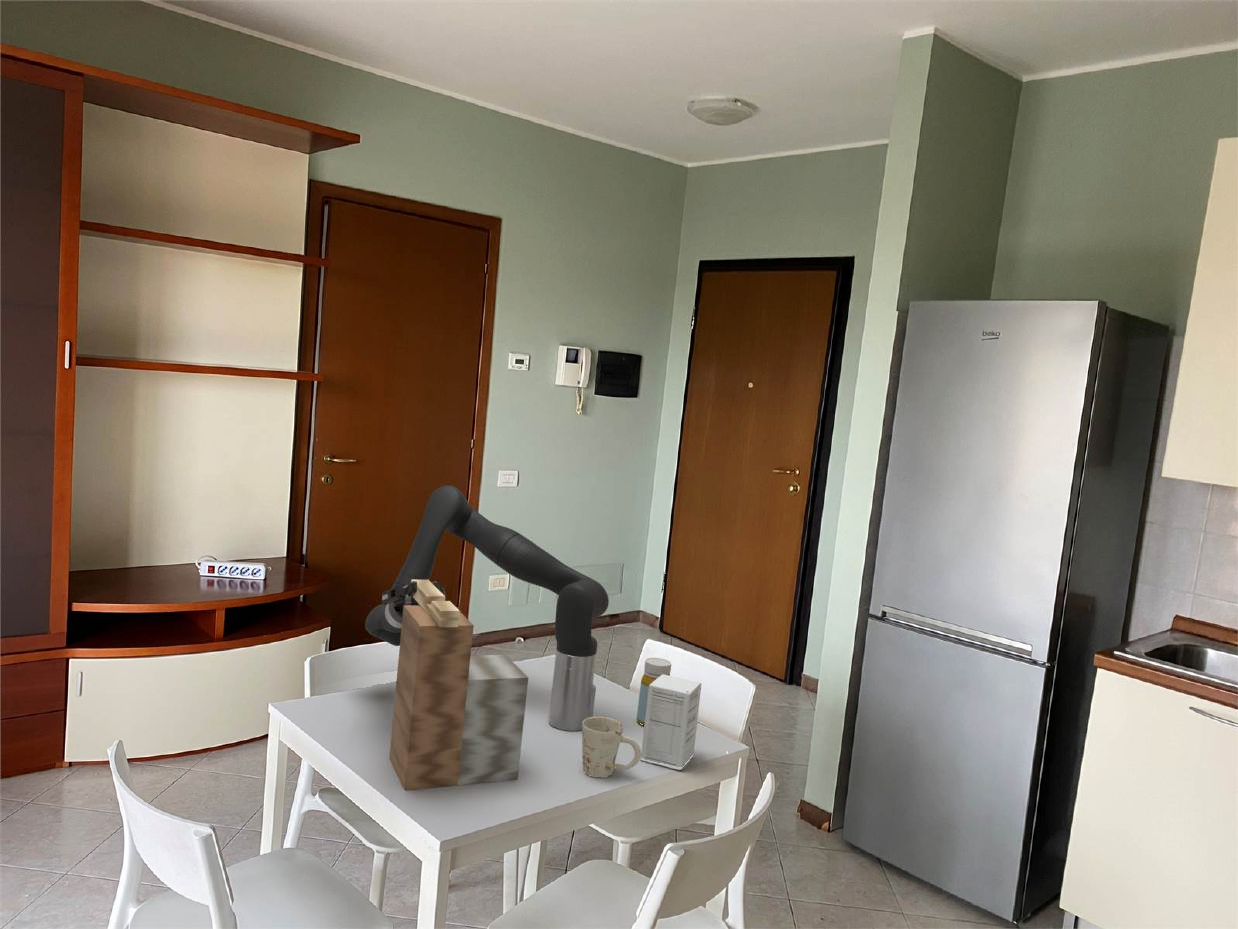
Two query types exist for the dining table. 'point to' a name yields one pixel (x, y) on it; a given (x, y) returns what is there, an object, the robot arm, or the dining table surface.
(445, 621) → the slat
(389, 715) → the dining table surface
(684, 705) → the supplement box
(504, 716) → the step shelf
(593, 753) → the mug
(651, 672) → the bottle
